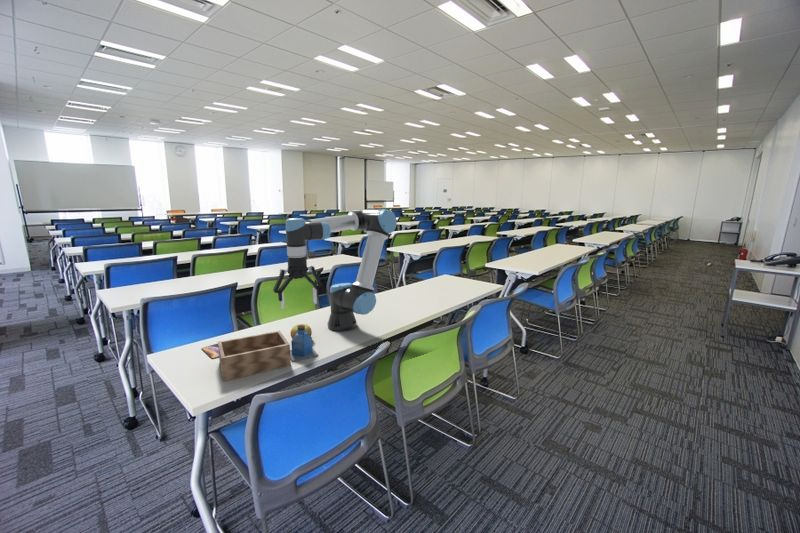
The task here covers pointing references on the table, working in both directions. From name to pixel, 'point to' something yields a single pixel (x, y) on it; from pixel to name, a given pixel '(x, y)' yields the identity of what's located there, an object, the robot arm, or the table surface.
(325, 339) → the table surface
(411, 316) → the table surface
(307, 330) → the apple
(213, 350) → the smartphone
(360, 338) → the table surface
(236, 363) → the crate
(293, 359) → the slate mat
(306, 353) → the perfume bottle
